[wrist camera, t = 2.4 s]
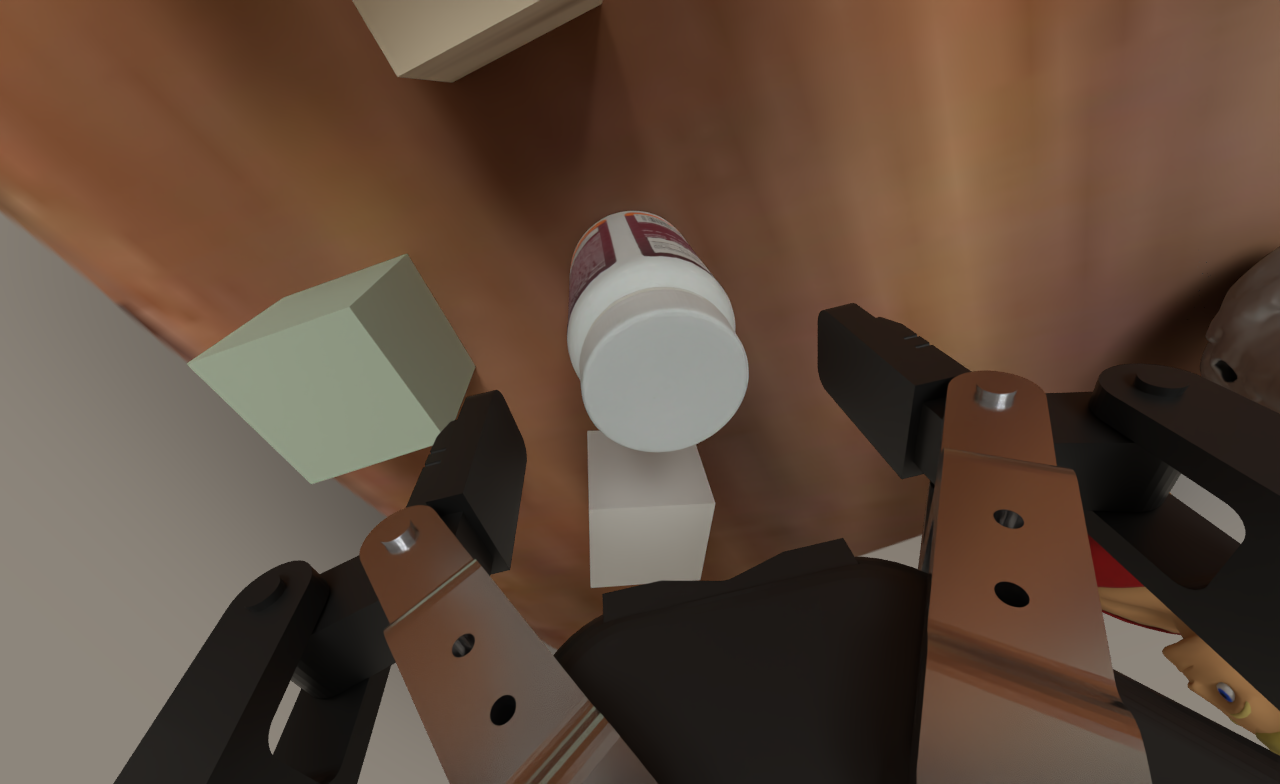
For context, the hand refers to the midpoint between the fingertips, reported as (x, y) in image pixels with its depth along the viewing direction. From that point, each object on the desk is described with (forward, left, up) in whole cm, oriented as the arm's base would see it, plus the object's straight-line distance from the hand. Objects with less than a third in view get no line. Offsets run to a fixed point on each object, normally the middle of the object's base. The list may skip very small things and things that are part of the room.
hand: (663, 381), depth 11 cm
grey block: (+10, -2, -8) cm, 13 cm away
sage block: (0, -10, -8) cm, 13 cm away
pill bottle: (0, 0, -8) cm, 8 cm away
